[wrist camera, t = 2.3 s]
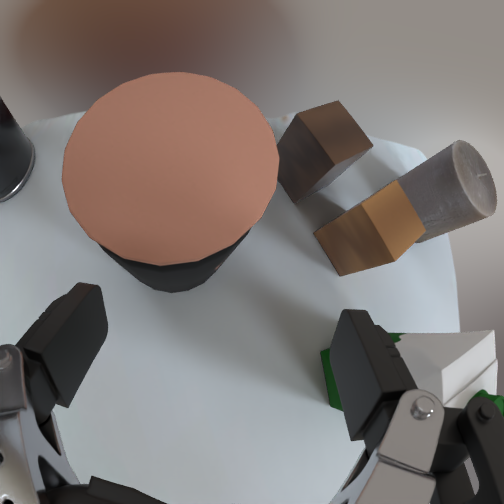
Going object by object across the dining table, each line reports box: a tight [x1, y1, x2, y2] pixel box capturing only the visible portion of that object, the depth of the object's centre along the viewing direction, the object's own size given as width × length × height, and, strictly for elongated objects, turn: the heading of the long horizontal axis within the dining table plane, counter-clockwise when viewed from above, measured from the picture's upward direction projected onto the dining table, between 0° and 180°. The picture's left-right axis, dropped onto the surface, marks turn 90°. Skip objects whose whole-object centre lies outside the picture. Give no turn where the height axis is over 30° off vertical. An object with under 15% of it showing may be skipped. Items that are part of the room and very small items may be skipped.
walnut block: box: [277, 101, 373, 204], centre depth 30 cm, size 6×6×10 cm
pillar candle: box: [397, 140, 497, 243], centre depth 31 cm, size 10×10×15 cm
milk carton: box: [321, 330, 504, 417], centre depth 22 cm, size 9×9×20 cm
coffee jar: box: [62, 72, 279, 293], centre depth 21 cm, size 11×11×18 cm
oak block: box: [314, 180, 426, 276], centre depth 30 cm, size 6×6×10 cm
